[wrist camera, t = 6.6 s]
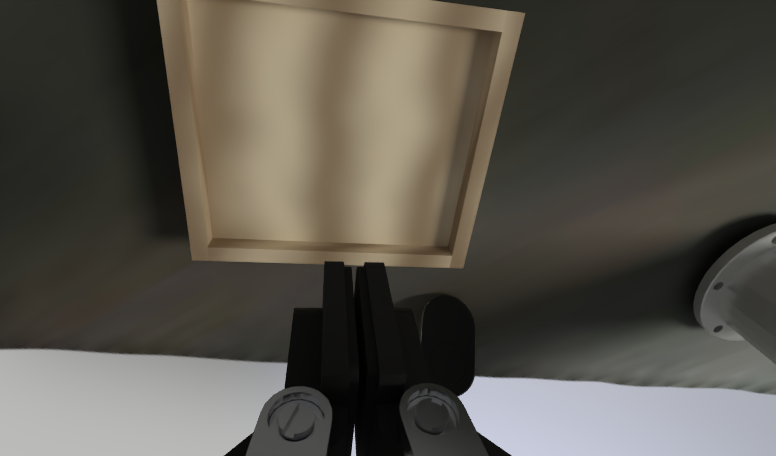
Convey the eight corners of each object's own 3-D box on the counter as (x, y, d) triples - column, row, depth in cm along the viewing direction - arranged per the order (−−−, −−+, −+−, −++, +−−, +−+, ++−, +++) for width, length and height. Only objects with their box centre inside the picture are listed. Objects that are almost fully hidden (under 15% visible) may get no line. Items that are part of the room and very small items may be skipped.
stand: (424, 288, 33) (417, 391, 29) (475, 302, 35) (475, 402, 31) (388, 312, 40) (378, 400, 36) (433, 323, 41) (428, 409, 37)
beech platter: (499, 12, 24) (525, 13, 21) (450, 241, 32) (463, 268, 28) (178, -32, 21) (151, -38, 18) (208, 231, 29) (192, 260, 26)
